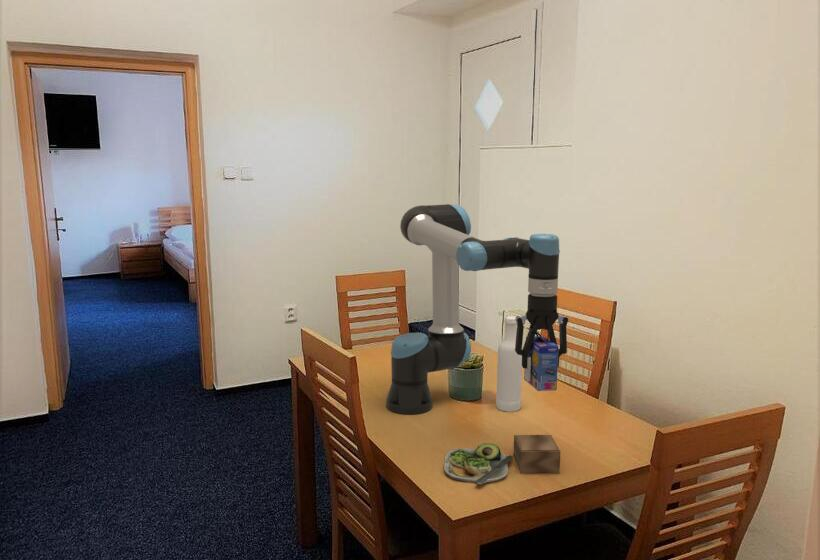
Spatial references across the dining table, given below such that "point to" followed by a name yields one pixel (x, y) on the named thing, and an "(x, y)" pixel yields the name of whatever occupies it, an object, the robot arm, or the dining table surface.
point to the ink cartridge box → (543, 364)
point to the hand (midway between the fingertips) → (539, 379)
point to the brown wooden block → (536, 454)
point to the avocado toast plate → (478, 463)
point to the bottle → (509, 370)
